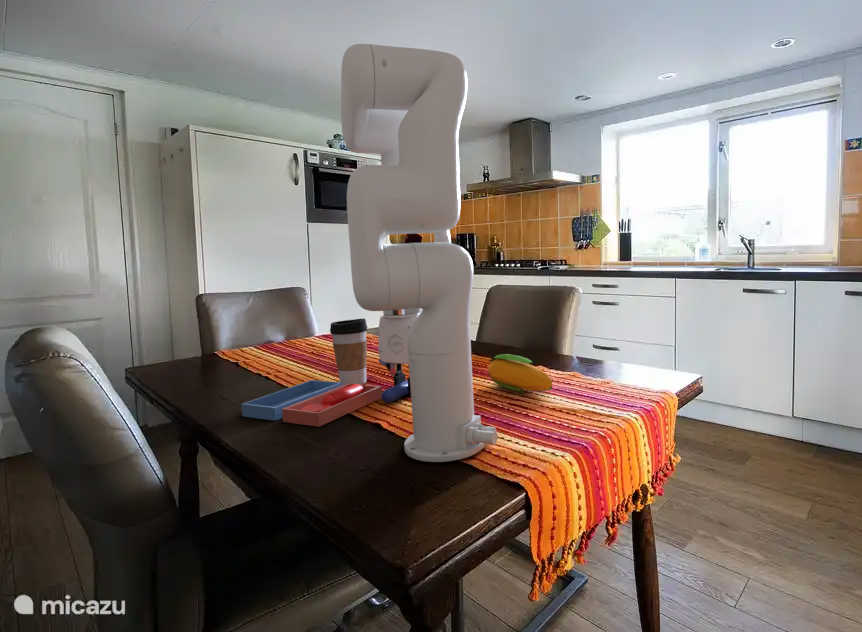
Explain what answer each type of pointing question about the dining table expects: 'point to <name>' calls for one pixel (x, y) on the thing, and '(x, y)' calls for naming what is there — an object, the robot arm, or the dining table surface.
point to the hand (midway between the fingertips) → (407, 392)
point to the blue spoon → (395, 392)
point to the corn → (518, 374)
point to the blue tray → (285, 399)
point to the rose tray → (329, 414)
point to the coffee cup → (350, 350)
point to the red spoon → (335, 398)
